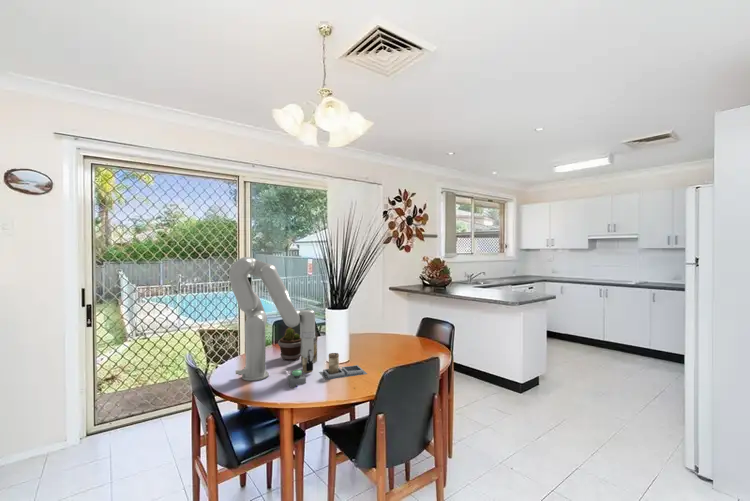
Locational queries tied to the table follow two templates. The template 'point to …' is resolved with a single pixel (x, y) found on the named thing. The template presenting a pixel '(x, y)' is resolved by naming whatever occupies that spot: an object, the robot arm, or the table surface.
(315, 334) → the coffee box
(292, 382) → the console
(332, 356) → the cylinder
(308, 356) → the cylinder
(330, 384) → the table surface
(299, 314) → the robot arm
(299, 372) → the button
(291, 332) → the flowerpot
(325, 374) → the tray
